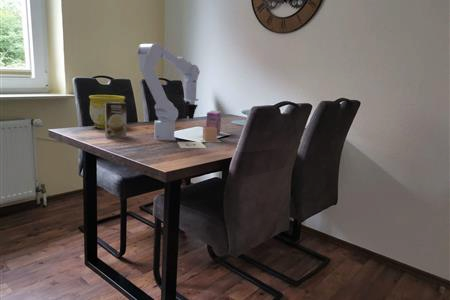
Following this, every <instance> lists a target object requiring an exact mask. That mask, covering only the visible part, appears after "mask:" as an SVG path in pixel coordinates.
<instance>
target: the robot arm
mask: <svg viewBox="0 0 450 300" xmlns="http://www.w3.org/2000/svg"><path fill="white" fill-rule="evenodd" d="M136 55H137V57H138V61H139V63H138V64H139V70H140V72H141V74H142V76H143V79H144V81H145V83H146V85H147V87H148V89H149V91H150V94H151V95H152V97H153V99H154V102H155V105H154V109H155V116H156V117H157V120H154V122H153V123H154V124H153V125H154V128H153V129H154V130H153V137H154V140H155V141H177V139H176V138H175V126H176V125H175V124H176V123H175V122H176V121H177V119H178V117H179V110H178V109H177V107H175V105H174V103H173V102H171V101H170V100H169V99H168V97H167V94H166V93H165V90H164V88H163V85H162V84H161V81H160V79H159V77H158V74H157V72H156V69H155V67H156V65H157V64H158V62H159V61H160V59H161V58H162V59H163V60H165V61H167V62H169V63H171V64H172V66H173V68H174V69H175V70H177V71H179V72H181V73H182V74H183V76H184V97H183V101H184V102H182V103H183V107H184V112H185V116H186V117H187V118H188V119H189V120H190V119H192V120H193V119H194V116H195V113H196V110H197V108H198V106H199V105H198V104H196V102H197V101H199V99H198V98H197V85H198V84H197V81H198V77H199V75H200V73H201V71H200V69H199V67H198V65H197V64H192V62H191V61H189V60H186V59H185V57H184V56H175V55H174V54H173V53H171V52H170V51H169V50H167V49H166V48H165V47H164V46H163V45H161V44H160V43H158V42H155V43H141V44H140V45H139V46H138V48H137V50H136Z"/></svg>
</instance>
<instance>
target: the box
mask: <svg viewBox="0 0 450 300" xmlns="http://www.w3.org/2000/svg"><path fill="white" fill-rule="evenodd" d="M221 120H222V111H221V110H220V111H219V110H210V111H209V112H206V123H205V127H216V128H217V134H218V133H219V134H220V133H221V127H222V126H221V122H222V121H221ZM219 134H218V135H219Z"/></svg>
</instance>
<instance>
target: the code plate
mask: <svg viewBox="0 0 450 300" xmlns="http://www.w3.org/2000/svg"><path fill="white" fill-rule="evenodd" d="M203 143H204V142H202V141H177V144H178V146H179V148H180V149H207V146H205V145H204V144H203Z"/></svg>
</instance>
